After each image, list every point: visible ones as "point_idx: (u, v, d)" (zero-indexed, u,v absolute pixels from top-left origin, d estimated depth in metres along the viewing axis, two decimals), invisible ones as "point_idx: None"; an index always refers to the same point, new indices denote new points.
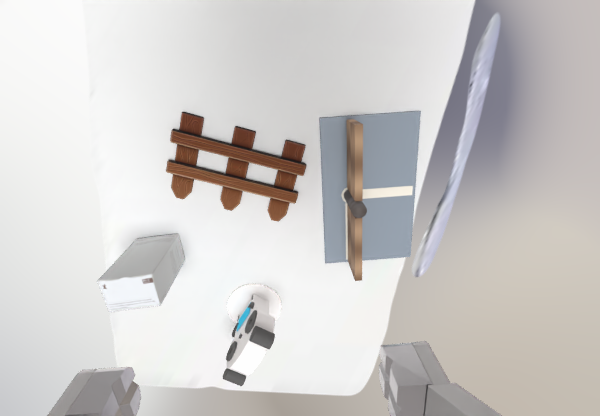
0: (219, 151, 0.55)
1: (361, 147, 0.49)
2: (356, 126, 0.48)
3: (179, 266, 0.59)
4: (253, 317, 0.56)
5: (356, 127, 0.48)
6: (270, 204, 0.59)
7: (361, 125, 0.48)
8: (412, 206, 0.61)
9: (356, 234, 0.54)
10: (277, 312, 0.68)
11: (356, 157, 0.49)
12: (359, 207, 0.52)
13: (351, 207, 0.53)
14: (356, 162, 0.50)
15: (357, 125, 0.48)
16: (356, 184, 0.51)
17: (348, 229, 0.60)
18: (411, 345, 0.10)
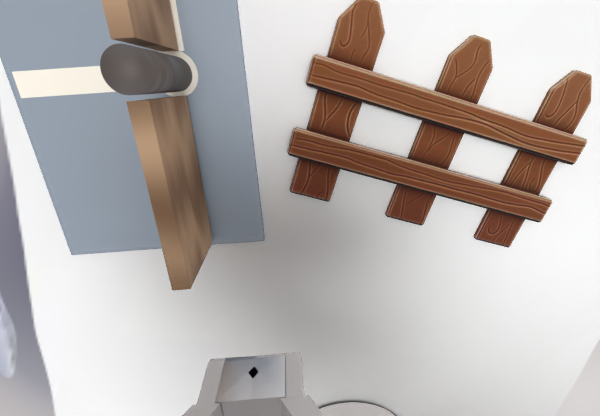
0: (467, 183, 0.27)
1: (166, 245, 0.20)
2: (186, 285, 0.22)
3: None
4: None
5: (185, 284, 0.22)
6: (376, 51, 0.24)
7: (175, 288, 0.22)
8: None
9: None
10: None
11: (171, 222, 0.20)
12: (128, 84, 0.17)
13: (155, 77, 0.17)
14: (169, 210, 0.20)
15: (184, 287, 0.22)
16: (156, 152, 0.18)
17: None
18: (283, 356, 0.10)
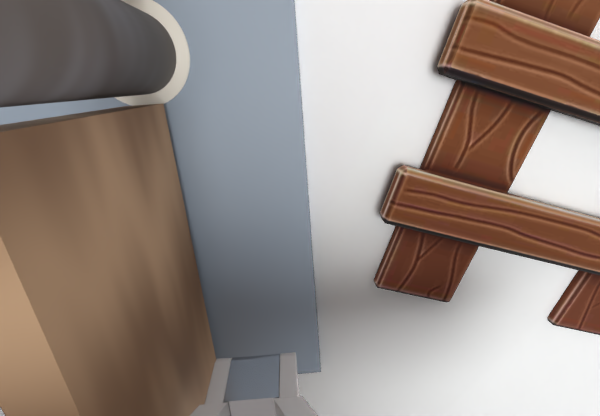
0: None
1: None
2: None
3: None
4: None
5: None
6: None
7: None
8: None
9: None
10: None
11: None
12: None
13: None
14: None
15: None
16: (26, 330, 0.05)
17: None
18: (277, 356, 0.10)
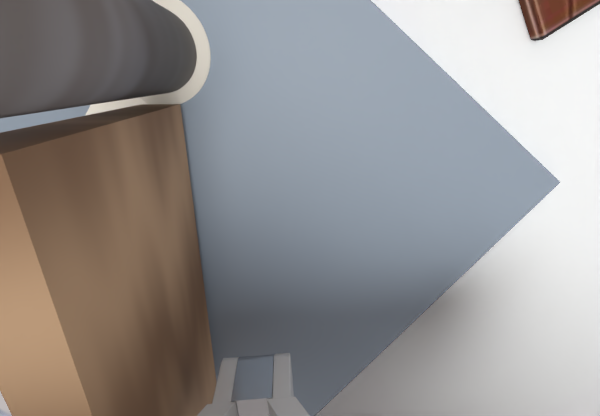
0: None
1: None
2: None
3: None
4: None
5: None
6: None
7: None
8: None
9: None
10: None
11: None
12: None
13: None
14: None
15: None
16: (52, 348, 0.05)
17: None
18: (271, 357, 0.10)
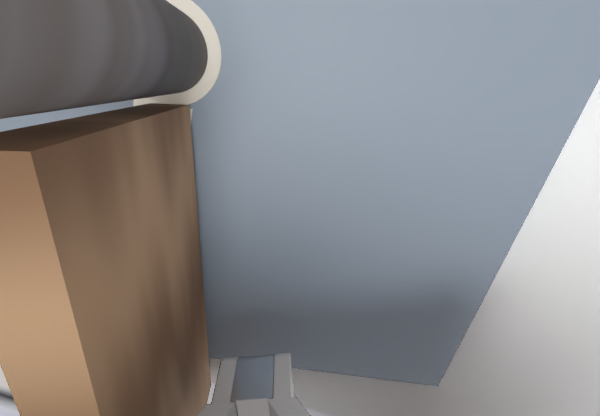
0: None
1: None
2: None
3: None
4: None
5: None
6: None
7: None
8: None
9: None
10: None
11: None
12: None
13: None
14: None
15: None
16: (64, 345, 0.05)
17: None
18: (272, 357, 0.10)
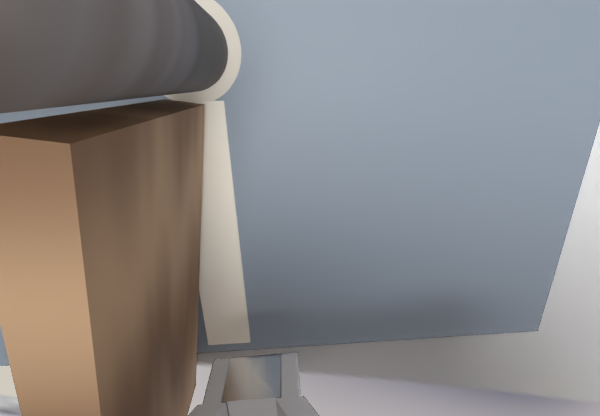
0: None
1: None
2: None
3: None
4: None
5: None
6: None
7: None
8: None
9: None
10: None
11: None
12: None
13: None
14: None
15: None
16: (75, 337, 0.05)
17: None
18: (278, 356, 0.10)
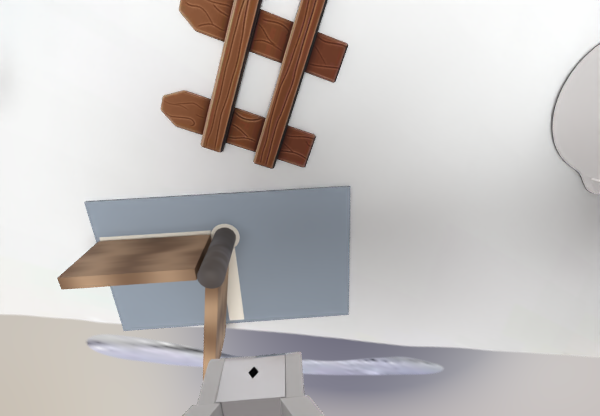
0: (306, 2, 0.28)
1: (206, 358, 0.33)
2: None
3: None
4: None
5: None
6: (196, 97, 0.31)
7: None
8: None
9: (162, 273, 0.29)
10: None
11: (213, 347, 0.32)
12: (218, 276, 0.29)
13: (215, 260, 0.29)
14: (213, 341, 0.32)
15: None
16: (214, 312, 0.31)
17: (162, 241, 0.35)
18: (283, 356, 0.10)
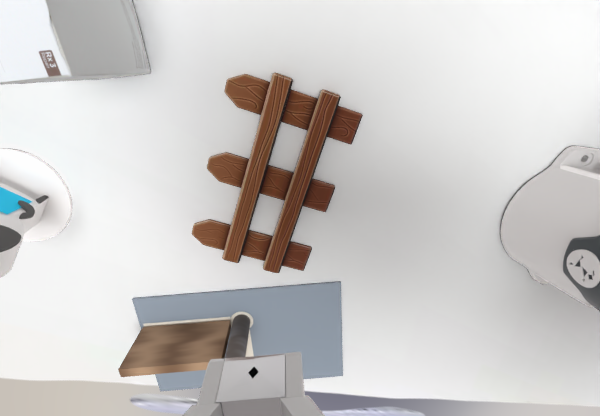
0: (302, 163, 0.37)
1: None
2: None
3: None
4: (3, 244, 0.29)
5: None
6: (219, 225, 0.40)
7: None
8: None
9: (196, 364, 0.38)
10: None
11: None
12: None
13: (236, 354, 0.38)
14: None
15: None
16: None
17: (193, 327, 0.44)
18: (283, 356, 0.10)
